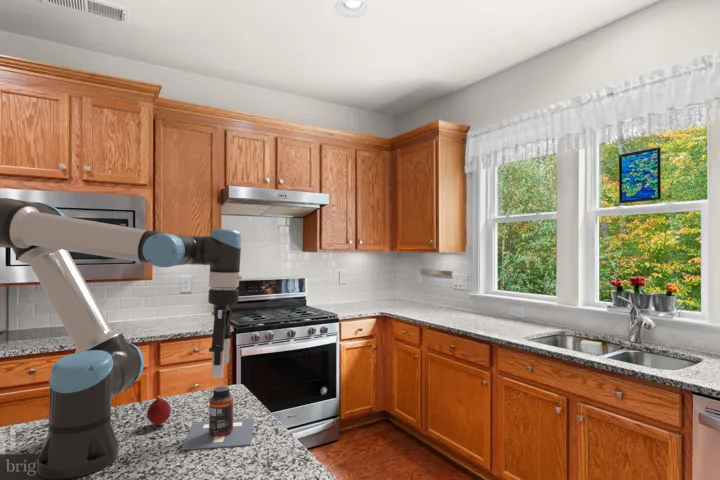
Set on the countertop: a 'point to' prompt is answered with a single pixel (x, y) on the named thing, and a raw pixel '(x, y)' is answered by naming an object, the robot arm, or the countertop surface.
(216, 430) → the supplement bottle
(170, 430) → the countertop surface
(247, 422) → the letter card
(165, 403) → the onion
